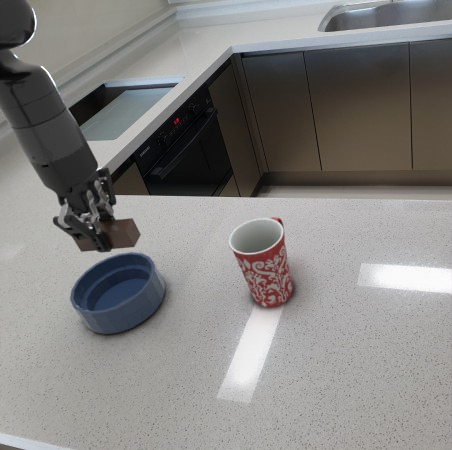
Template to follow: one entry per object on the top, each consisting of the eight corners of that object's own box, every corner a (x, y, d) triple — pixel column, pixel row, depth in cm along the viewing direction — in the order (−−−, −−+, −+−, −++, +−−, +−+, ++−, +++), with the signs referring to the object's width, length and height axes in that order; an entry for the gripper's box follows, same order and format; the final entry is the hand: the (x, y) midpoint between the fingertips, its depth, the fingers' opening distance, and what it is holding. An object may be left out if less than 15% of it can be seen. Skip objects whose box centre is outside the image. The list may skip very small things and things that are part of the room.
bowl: (116, 348, 78) (101, 326, 74) (70, 316, 86) (54, 294, 83) (182, 290, 87) (171, 267, 83) (134, 265, 95) (122, 243, 91)
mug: (286, 316, 77) (269, 257, 69) (239, 307, 80) (218, 249, 72) (312, 265, 86) (300, 207, 78) (269, 258, 89) (253, 202, 81)
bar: (81, 252, 72) (70, 235, 70) (89, 239, 74) (79, 223, 72) (134, 247, 70) (125, 230, 68) (141, 234, 72) (132, 217, 70)
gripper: (56, 125, 68) (106, 217, 78) (1, 178, 57) (68, 276, 67) (103, 119, 66) (147, 213, 77) (55, 171, 55) (115, 273, 66)
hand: (110, 242), depth 72 cm, fingers closed on bar, 3 cm apart
